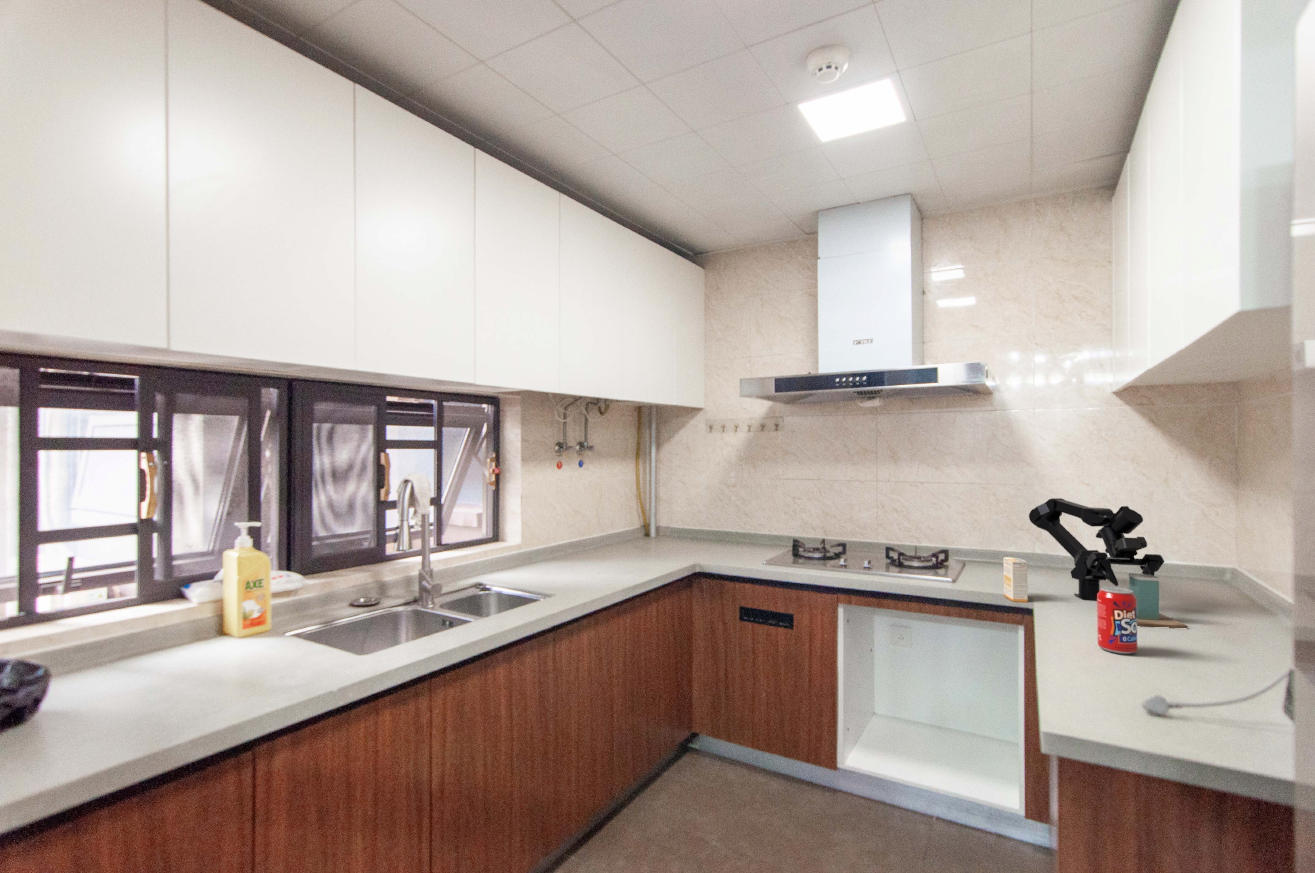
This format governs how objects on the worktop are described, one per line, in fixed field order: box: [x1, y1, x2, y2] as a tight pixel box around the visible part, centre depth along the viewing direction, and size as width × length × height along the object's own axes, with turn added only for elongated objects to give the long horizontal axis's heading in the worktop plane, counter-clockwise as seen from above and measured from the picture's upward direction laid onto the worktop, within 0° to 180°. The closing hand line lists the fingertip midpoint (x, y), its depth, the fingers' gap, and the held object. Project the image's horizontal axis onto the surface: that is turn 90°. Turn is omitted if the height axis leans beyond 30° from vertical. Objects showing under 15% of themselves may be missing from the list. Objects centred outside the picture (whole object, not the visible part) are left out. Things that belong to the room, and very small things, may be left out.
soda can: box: [1096, 586, 1138, 655], centre depth 152 cm, size 8×8×15 cm
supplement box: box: [1003, 556, 1029, 603], centre depth 203 cm, size 8×5×13 cm, turn 168°
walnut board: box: [1137, 612, 1188, 629], centre depth 178 cm, size 14×14×2 cm
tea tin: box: [1128, 572, 1161, 620], centre depth 178 cm, size 5×5×12 cm
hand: (1134, 586), depth 182 cm, fingers open, 9 cm apart
